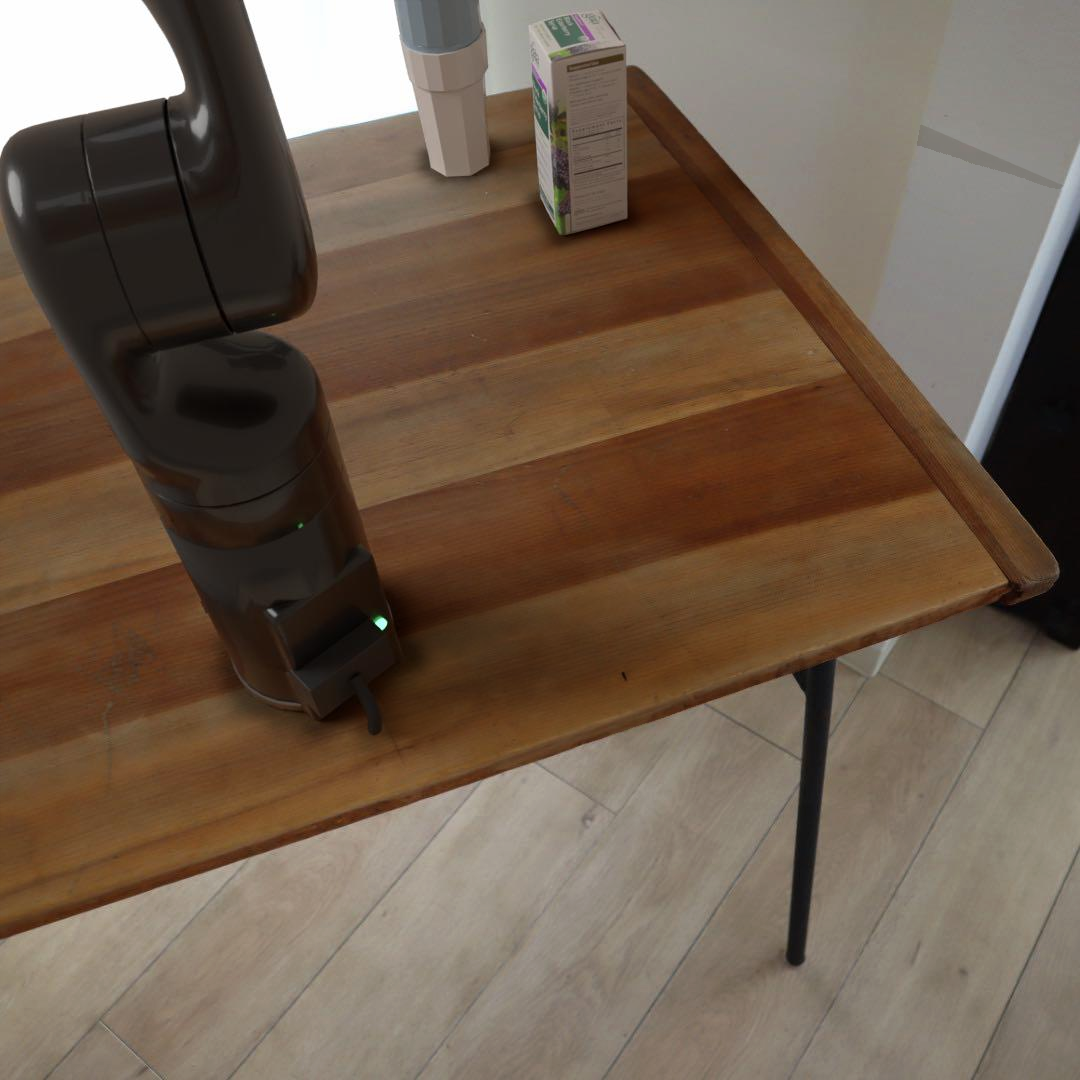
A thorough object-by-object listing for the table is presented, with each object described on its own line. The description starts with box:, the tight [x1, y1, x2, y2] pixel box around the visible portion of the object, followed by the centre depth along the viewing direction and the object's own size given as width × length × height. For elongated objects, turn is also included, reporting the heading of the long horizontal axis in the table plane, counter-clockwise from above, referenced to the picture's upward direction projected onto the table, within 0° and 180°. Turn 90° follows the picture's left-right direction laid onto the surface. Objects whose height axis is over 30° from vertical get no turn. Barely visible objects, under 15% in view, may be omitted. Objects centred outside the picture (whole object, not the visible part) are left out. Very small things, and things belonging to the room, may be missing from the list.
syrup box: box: [528, 9, 629, 236], centre depth 87 cm, size 6×6×14 cm
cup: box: [398, 20, 491, 178], centre depth 94 cm, size 7×7×11 cm
